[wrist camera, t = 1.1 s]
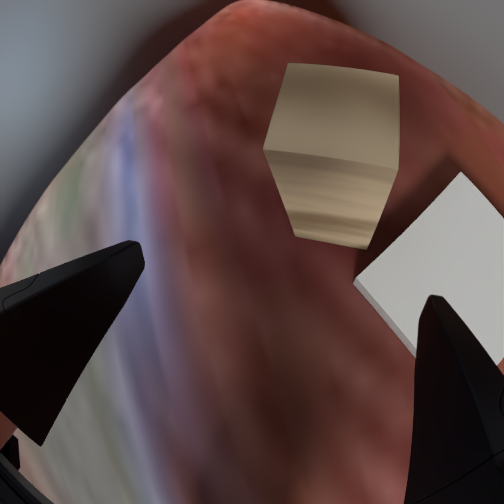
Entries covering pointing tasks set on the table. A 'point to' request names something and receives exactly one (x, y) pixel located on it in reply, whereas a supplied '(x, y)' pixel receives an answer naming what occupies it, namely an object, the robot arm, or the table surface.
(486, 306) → the tile base
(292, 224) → the oak block
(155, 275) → the table surface
